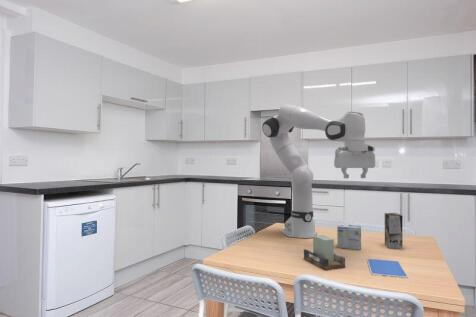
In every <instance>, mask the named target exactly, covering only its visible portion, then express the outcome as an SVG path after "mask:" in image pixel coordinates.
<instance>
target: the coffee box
mask: <svg viewBox="0 0 476 317" xmlns="http://www.w3.org/2000/svg"><path fill="white" fill-rule="evenodd" d="M403 217H404V216H403V215H402V214H399V213H397V212H389V213H388V212H387V213H386V212H385V213H384V245H385V246H386V247H387V248H389V249H393V250H396V249H397V250H402V249H403Z"/></svg>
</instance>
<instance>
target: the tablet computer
mask: <svg viewBox="0 0 476 317" xmlns="http://www.w3.org/2000/svg"><path fill="white" fill-rule="evenodd" d="M366 262H367V265H368V266H367V267H368V268H369V269H370V270H369V272H371V273H370V275H371V274H375V275H374V276H376V275H382V276H381V277H387V276H390V278H397V277H399V278H400V279H408V278H409V277H408V274H407V272H406V271H405V269H404V268H403V266H402V265H401V263H400V262H399V261H396V260H388V259H387V260H386V259H376V258H375V259H372V258H367V259H366Z"/></svg>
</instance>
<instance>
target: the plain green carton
mask: <svg viewBox="0 0 476 317" xmlns="http://www.w3.org/2000/svg"><path fill="white" fill-rule="evenodd" d="M312 252H313V253H315V254H317V255H319V256H321V257H324V258H326V259H328V262H334V253H335V239H334V238H331V237H328V236H325V235H323V234H321V235H318V234H317V235H315V236H313V237H312Z"/></svg>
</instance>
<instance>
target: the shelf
mask: <svg viewBox="0 0 476 317" xmlns="http://www.w3.org/2000/svg"><path fill="white" fill-rule="evenodd" d="M303 259H304V260H305V261H307V262H310V263H311V264H313V265H315V266H318V267H319V268H321V269H323V270H324V271H331V270H332V269H333V270H338V269H339V268H340V269H345V268H346V257H345V256H342V255H340V254H338V253H335V252H334V262H328V259H326V258H324V257H321V256H319V255H317V254H315V253H313V251H311V250H309V249H306V248H304V249H303Z"/></svg>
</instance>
